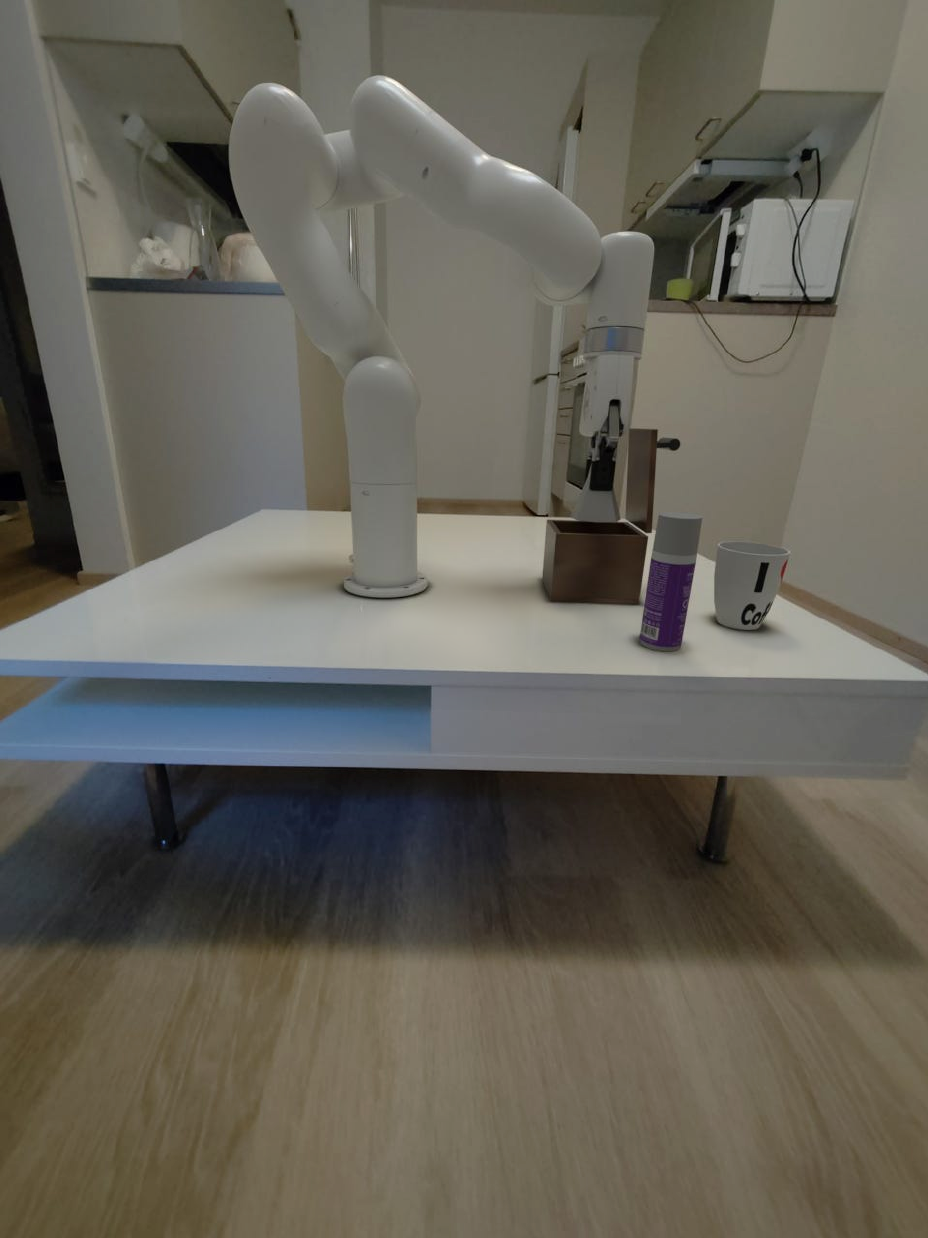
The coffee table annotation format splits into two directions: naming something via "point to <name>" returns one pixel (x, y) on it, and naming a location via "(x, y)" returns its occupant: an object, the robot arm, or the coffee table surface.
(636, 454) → the bin lid
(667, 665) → the coffee table surface
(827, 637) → the coffee table surface
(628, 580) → the bin
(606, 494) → the flask
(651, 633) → the container
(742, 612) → the cup
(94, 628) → the coffee table surface
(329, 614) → the coffee table surface
